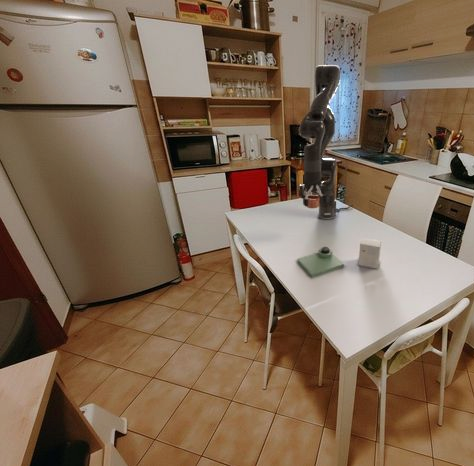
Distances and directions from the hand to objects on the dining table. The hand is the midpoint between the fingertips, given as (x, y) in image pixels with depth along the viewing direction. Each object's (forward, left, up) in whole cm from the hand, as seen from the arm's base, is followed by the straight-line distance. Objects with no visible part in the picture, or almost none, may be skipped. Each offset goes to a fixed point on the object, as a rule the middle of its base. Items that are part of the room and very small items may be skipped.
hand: (312, 204), depth 123 cm
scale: (+8, +22, -18) cm, 30 cm away
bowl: (0, 0, -1) cm, 1 cm away
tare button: (+4, +19, -15) cm, 24 cm away
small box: (-10, +32, -18) cm, 38 cm away
